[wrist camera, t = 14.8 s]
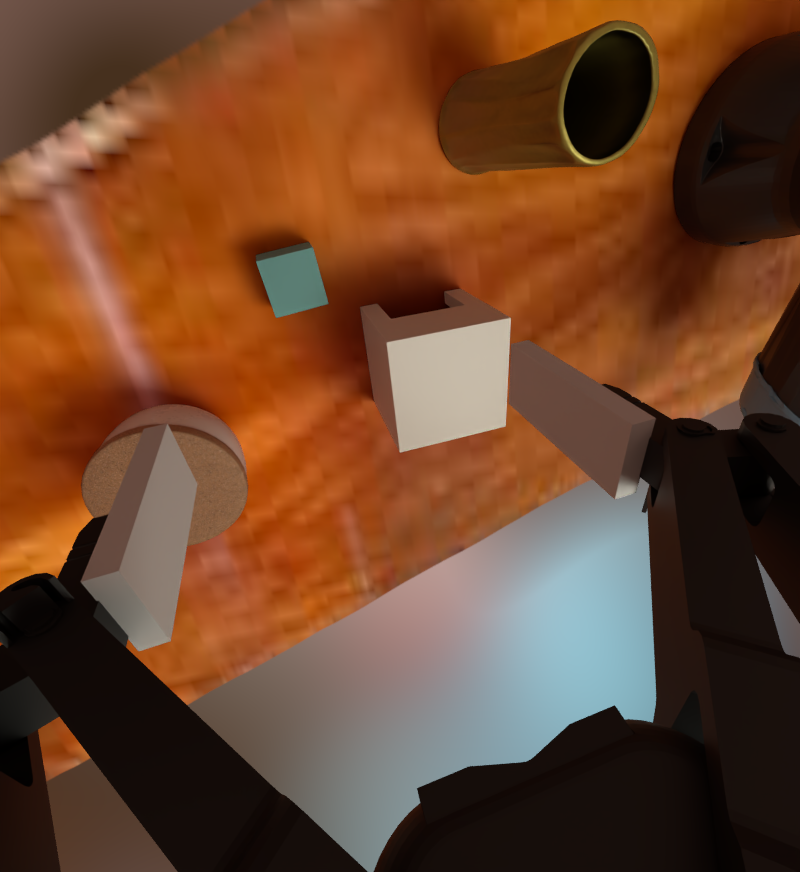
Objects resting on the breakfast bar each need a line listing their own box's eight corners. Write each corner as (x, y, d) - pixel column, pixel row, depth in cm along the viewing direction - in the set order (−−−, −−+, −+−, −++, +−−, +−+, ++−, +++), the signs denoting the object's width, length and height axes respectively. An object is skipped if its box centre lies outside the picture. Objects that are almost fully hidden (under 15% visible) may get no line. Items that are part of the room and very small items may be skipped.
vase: (524, 80, 30) (691, 24, 19) (504, 180, 33) (636, 185, 22) (445, 61, 28) (576, -14, 17) (431, 168, 31) (533, 167, 20)
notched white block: (462, 381, 42) (505, 426, 34) (373, 401, 40) (399, 452, 33) (460, 288, 37) (510, 317, 30) (359, 306, 35) (386, 342, 28)
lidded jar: (102, 379, 33) (55, 442, 25) (249, 386, 36) (248, 444, 29) (121, 490, 38) (86, 571, 30) (248, 487, 41) (246, 559, 34)
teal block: (323, 294, 34) (328, 303, 32) (274, 307, 34) (276, 318, 31) (308, 241, 32) (312, 247, 29) (255, 254, 31) (255, 261, 29)
